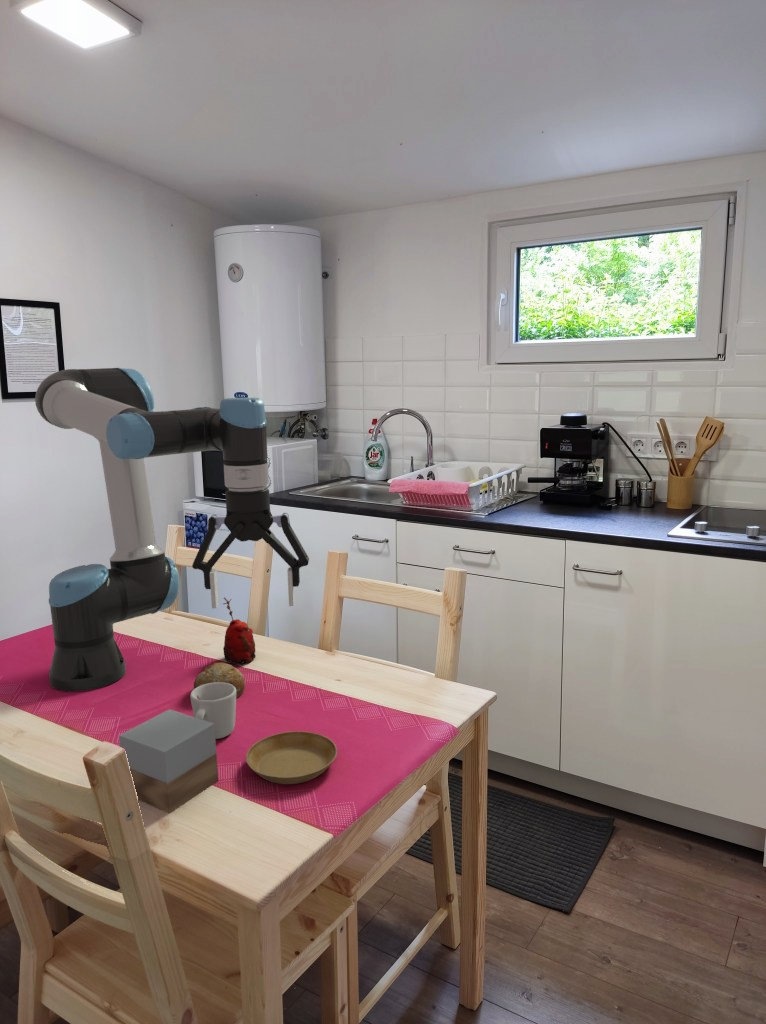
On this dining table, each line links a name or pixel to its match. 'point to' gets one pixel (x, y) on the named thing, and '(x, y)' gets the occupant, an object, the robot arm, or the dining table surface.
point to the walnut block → (176, 786)
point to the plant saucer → (291, 756)
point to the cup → (215, 706)
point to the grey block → (168, 745)
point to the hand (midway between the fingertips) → (253, 605)
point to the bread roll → (221, 676)
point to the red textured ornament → (238, 641)
